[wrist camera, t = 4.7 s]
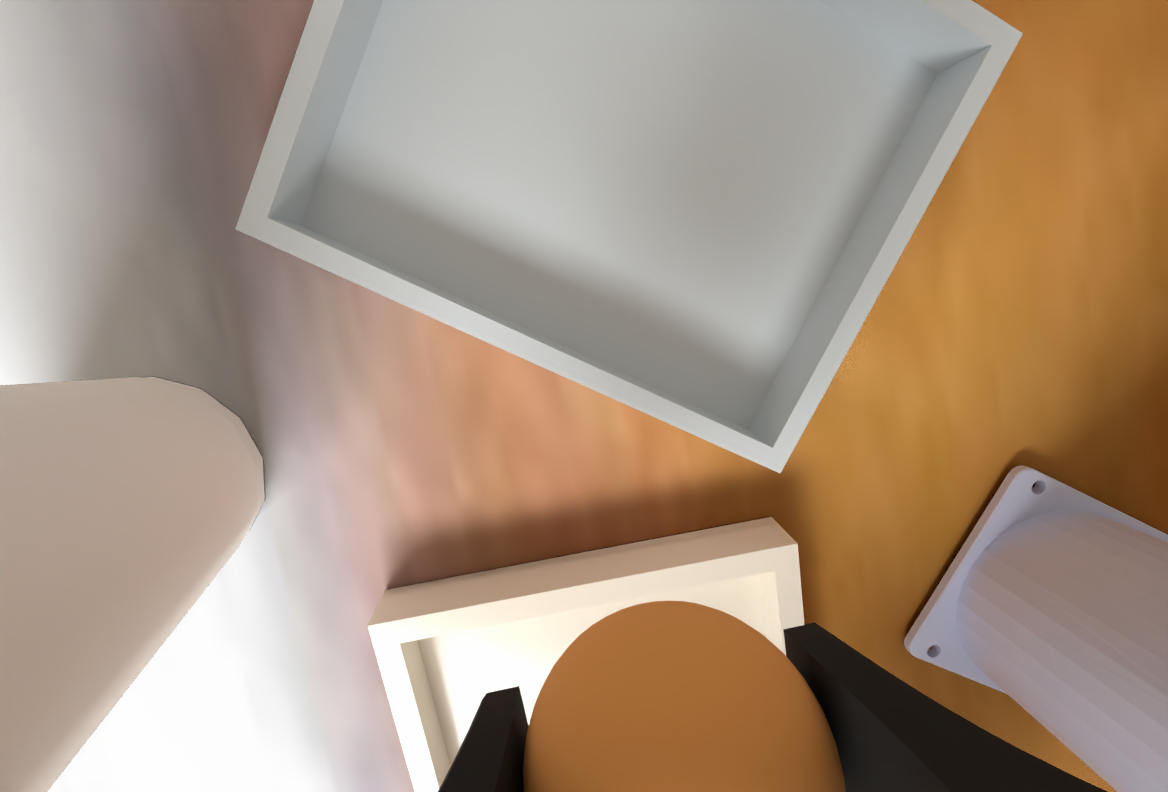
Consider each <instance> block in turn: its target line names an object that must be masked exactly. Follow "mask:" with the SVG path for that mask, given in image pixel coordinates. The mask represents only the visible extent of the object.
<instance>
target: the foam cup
mask: <svg viewBox="0 0 1168 792" xmlns="http://www.w3.org/2000/svg"><path fill="white" fill-rule="evenodd" d="M264 500H265V493H264V473H263V458H262V456H261V454H260V452H259V451H258V449H257V447H256V445H255V443H254V442H253V440H252V438H251V436H250V435H249V433H248V431H247V429H246V428H245V426H244V424H243V422H242V421H241V419H240V418H239V417H238V416H236V415H235V414H234V413H232V412H231V411H230V410H228V409H227V408H226V407H224V406H223V405H222V404H220V403H219V402H218V401H216V400H215V399H214V398H212V397H211V396H210V395H208V394H207V393H206V392H204V391H203V390H202V389H199V388H196V387H192V386H188V385H184V384H180V383H176V382H172V381H169V380H165V379H161V378H157V377H153V376H152V377H146V378H139V377H127V378H111V379H96V380H80V381H64V382H48V383H33V384H17V385H1V386H0V792H47V791H48V790H49V789H50V787H51V786H52V785H53V783H54V782H55V781H56V780H57V778H58V777H59V776H60V775H61V773H62V772H63V771H64V769H65V768H66V767H67V766H68V764H69V763H70V762H71V760H72V759H73V758H74V757H75V755H76V754H77V753H78V752H79V750H80V749H81V748H82V746H83V745H84V744H85V743H86V741H87V740H88V739H89V737H90V736H91V735H92V734H93V732H94V731H95V730H96V729H97V727H98V726H99V725H100V723H101V722H102V721H103V720H104V718H105V717H106V716H107V715H108V713H109V712H110V711H111V709H112V708H113V707H114V706H115V704H116V703H117V702H118V700H119V699H120V698H121V697H122V695H123V694H124V693H125V692H126V690H127V689H128V688H129V686H130V685H131V684H132V683H133V681H134V680H135V679H136V677H137V676H138V675H139V674H140V672H141V671H142V670H143V669H144V667H145V666H146V665H147V663H148V662H149V661H150V660H151V658H152V657H153V656H154V654H155V653H156V652H157V651H158V649H159V648H160V647H161V646H162V644H163V643H164V642H165V640H166V639H167V638H168V637H169V635H170V634H171V633H172V631H173V630H174V629H175V628H176V626H177V625H178V624H179V623H180V621H181V620H182V619H183V617H184V616H185V615H186V614H187V612H188V611H189V610H190V609H191V607H192V606H193V605H194V603H195V602H196V601H197V600H198V598H199V597H200V596H201V594H202V593H203V592H204V591H205V589H206V588H207V587H208V586H209V584H210V583H211V582H212V580H213V579H214V578H215V577H216V575H217V574H218V573H219V571H220V570H221V569H222V568H223V566H224V565H225V564H226V563H227V561H228V560H229V559H230V557H231V556H232V555H233V554H234V552H235V551H236V550H237V548H238V547H239V546H240V544H241V542H242V540H243V538H245V537H246V536H247V535H248V533H249V531H250V529H251V527H252V525H253V523H254V520H255V518H256V516H257V514H258V512H259V510H260V508H261V506H262V504H263V502H264Z"/></svg>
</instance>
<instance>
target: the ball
mask: <svg viewBox="0 0 1168 792" xmlns="http://www.w3.org/2000/svg"><path fill="white" fill-rule="evenodd" d="M523 790H524V792H845V780H844V775H843V771H842V766H841V762H840V757H839V753H838V749H837V745H836V742H835V739H834V737H833V734H832V731H831V729H830V726H829V724H828V721H827V719H826V716H825V714H824V712H823V709H822V708H821V706H820V704H819V702H818V700H817V699H816V697H815V695H814V693H813V692H812V690H811V688H810V687H809V685H808V684H807V682H806V680H805V679H804V678H803V676H802V675H801V674H800V672H799V671H798V670H797V669H796V667H795V666H794V665H793V664H792V663H791V661H790V660H789V659H788V658H787V657H786V656H785V654H784V653H783V652H782V651H781V650H779V649H778V648H777V647H776V646H775V645H774V644H773V643H772V642H771V641H769V640H768V639H767V638H766V637H765V636H764V635H762V634H761V633H760V632H758V631H757V630H755V629H754V628H752V627H751V626H749V625H747V624H746V623H744V622H743V621H741V620H739V619H738V618H736V617H734V616H732V615H730V614H727V613H725V612H723V611H720V610H717V609H714V608H711V607H708V606H704V605H701V604H697V603H691V602H685V601H655V602H647V603H642V604H637V605H633V606H630V607H627V608H624V609H621V610H619V611H617V612H615V613H613V614H610V615H608V616H606V617H605V618H603V619H601V620H600V621H598V622H596V623H595V624H593V625H592V626H590V627H589V628H588V629H587V630H585V631H584V632H583V633H581V634H580V635H579V636H578V637H577V638H576V639H575V640H574V641H573V642H572V643H571V644H570V645H569V647H568V648H567V649H566V650H565V651H564V653H563V654H562V655H561V657H560V658H559V659H558V660H557V662H556V663H555V664H554V666H553V668H552V669H551V671H550V673H549V675H548V676H547V678H546V680H545V682H544V684H543V686H542V688H541V690H540V692H539V695H538V697H537V700H536V702H535V705H534V708H533V712H532V715H531V719H530V723H529V727H528V731H527V735H526V742H525V751H524V762H523Z"/></svg>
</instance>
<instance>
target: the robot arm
mask: <svg viewBox="0 0 1168 792" xmlns="http://www.w3.org/2000/svg"><path fill="white" fill-rule="evenodd" d="M1035 482H1036V484H1035V486H1034V487H1033V488H1032V486H1033V484H1034V483H1035ZM783 631H784V640H785V649H786V657H787V658H788V659H789V660H790V661H791V663H792V664H793V665H794V666H795V667H796V669H797V670H798V671H799V672H800V674H801V675H802V676H803V678H804V679H805V680H806V682H807V684H808V685H809V687H810V688H811V690H812V692H813V693H814V695H815V697H816V699H817V700H818V702H819V704H820V706H821V708H822V709H823V712H824V714H825V716H826V719H827V721H828V724H829V726H830V729H831V731H832V734H833V737H834V739H835V742H836V745H837V749H838V753H839V757H840V762H841V766H842V771H843V775H844V780H845V792H1107V791H1105V790H1102V789H1100V788H1098V787H1096V786H1094V785H1092V784H1090V783H1087V782H1085V781H1083V780H1081V779H1079V778H1077V777H1075V776H1072V775H1070V774H1068V773H1066V772H1064V771H1062V770H1060V769H1058V768H1056V767H1054V766H1052V765H1050V764H1048V763H1046V762H1044V761H1042V760H1040V759H1038V758H1036V757H1034V756H1032V755H1030V754H1028V753H1026V752H1024V751H1022V750H1020V749H1019V748H1017V747H1015V746H1013V745H1011V744H1009V743H1007V742H1005V741H1003V740H1002V739H1000V738H998V737H996V736H994V735H992V734H991V733H989V732H987V731H985V730H984V729H982V728H980V727H978V726H977V725H975V724H973V723H971V722H970V721H968V720H966V719H964V718H963V717H961V716H959V715H957V714H955V713H954V712H952V711H950V710H949V709H947V708H945V707H944V706H942V705H940V704H939V703H937V702H935V701H934V700H932V699H930V698H929V697H927V696H925V695H924V694H922V693H921V692H919V691H917V690H916V689H914V688H913V687H911V686H909V685H908V684H906V683H905V682H903V681H901V680H900V679H898V678H897V677H895V676H894V675H892V674H891V673H889V672H888V671H886V670H884V669H883V668H881V667H880V666H878V665H877V664H875V663H874V662H872V661H871V660H869V659H868V658H866V657H865V656H863V655H862V654H860V653H859V652H857V651H856V650H854V649H853V648H851V647H850V646H849V645H847V644H846V643H844V642H843V641H841V640H840V639H838V638H837V637H835V636H834V635H832V634H831V633H829V632H828V631H826V630H825V629H823V628H822V627H820V626H819V625H817V624H816V623H811V624H806V625H802V626H797V627H792V628H788V629H783ZM904 646H905V648H906V649H907V650H908V651H909V652H910V654H911V655H913V656H914V657H916V658H919V659H921V660H924V661H926V662H929V663H931V664H934V665H936V666H938V667H941V668H943V669H946V670H948V671H951V672H953V673H956V674H958V675H961V676H963V677H966V678H968V679H971V680H973V681H976V682H978V683H981V684H983V685H985V686H988V687H990V688H993V689H995V690H998V691H1000V692H1003V693H1005V694H1008V695H1009V696H1010V697H1011V698H1012V699H1013V700H1014V701H1015V702H1017V703H1018V704H1019V705H1020V706H1021V707H1022V708H1023V709H1024V710H1026V711H1027V712H1028V713H1029V714H1030V715H1031V716H1032V717H1033V718H1035V719H1036V720H1037V721H1038V722H1039V723H1040V724H1041V725H1042V726H1044V727H1045V728H1046V729H1047V730H1048V731H1049V732H1050V733H1051V734H1053V735H1054V736H1055V737H1056V738H1057V739H1058V740H1059V741H1060V742H1062V743H1063V744H1064V745H1065V746H1066V747H1067V748H1068V749H1069V750H1071V751H1072V752H1073V753H1074V754H1075V755H1076V756H1077V757H1078V758H1080V759H1081V760H1082V761H1083V762H1084V763H1085V764H1086V765H1087V766H1089V767H1090V768H1091V769H1092V770H1093V771H1094V772H1095V773H1096V774H1097V775H1099V776H1100V777H1101V778H1102V779H1103V780H1104V781H1105V782H1106V783H1108V784H1109V785H1110V786H1111V787H1112V788H1113V789H1114V790H1115V791H1117V792H1168V535H1167V534H1165V533H1163V532H1161V531H1159V530H1157V529H1155V528H1153V527H1151V526H1149V525H1147V524H1145V523H1143V522H1141V521H1139V520H1137V519H1135V518H1133V517H1131V516H1129V515H1127V514H1125V513H1123V512H1120V511H1118V510H1116V509H1114V508H1112V507H1110V506H1108V505H1106V504H1104V503H1102V502H1100V501H1098V500H1096V499H1094V498H1092V497H1090V496H1088V495H1086V494H1084V493H1082V492H1080V491H1078V490H1076V489H1074V488H1072V487H1070V486H1068V485H1066V484H1064V483H1061V482H1059V481H1057V480H1055V479H1053V478H1051V477H1049V476H1047V475H1045V474H1043V473H1041V472H1039V471H1037V470H1035V469H1033V468H1030V467H1027V466H1023V465H1020V466H1016V467H1014V468H1013V469H1011V471H1010V472H1009V473H1008V474H1007V476H1006V477H1005V479H1004V481H1003V482H1002V484H1001V485H1000V487H999V489H998V490H997V492H996V493H995V495H994V497H993V498H992V500H991V501H990V503H989V505H988V506H987V508H986V509H985V511H984V513H983V514H982V516H981V517H980V519H979V521H978V522H977V524H976V525H975V527H974V529H973V530H972V532H971V533H970V535H969V536H968V538H967V540H966V541H965V543H964V544H963V546H962V548H961V549H960V551H959V552H958V554H957V556H956V557H955V559H954V560H953V562H952V564H951V565H950V567H949V568H948V570H947V572H946V573H945V575H944V576H943V578H942V580H941V581H940V583H939V584H938V586H937V588H936V589H935V591H934V592H933V594H932V596H931V597H930V599H929V600H928V602H927V604H926V605H925V607H924V608H923V610H922V611H921V613H920V615H919V616H918V618H917V619H916V621H915V623H914V624H913V626H912V627H911V629H910V631H909V632H908V634H907V635H906V637H905V640H904ZM931 646H932V647H931ZM930 647H931V648H930ZM929 648H930V649H929ZM928 649H929V650H928ZM528 727H529V725H528V721H527V717H526V713H525V709H524V705H523V700H522V696H521V692H520V688H519V686H517V687H512V688H507V689H503V690H498V691H493V692H489V693H486V695H485V696H484V697H483V699H482V701H481V703H480V705H479V707H478V710H477V712H476V714H475V716H474V719H473V721H472V723H471V725H470V728H469V730H468V732H467V734H466V736H465V738H464V740H463V743H462V745H461V747H460V749H459V751H458V753H457V755H456V757H455V759H454V761H453V763H452V765H451V767H450V769H449V771H448V773H447V775H446V777H445V779H444V781H443V783H442V785H441V786H440V788H439V790H438V792H524V790H523V762H524V751H525V742H526V735H527V731H528Z"/></svg>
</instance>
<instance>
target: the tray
mask: <svg viewBox="0 0 1168 792" xmlns="http://www.w3.org/2000/svg"><path fill="white" fill-rule="evenodd" d="M1022 35H1023V33H1021V32H1020V31H1018V30H1017V29H1015V28H1014V27H1012V26H1011V25H1009V24H1008V23H1006V22H1005V21H1003V20H1001V19H1000V18H998V17H997V16H995V15H994V14H992V13H991V12H989V11H988V10H986V9H985V8H983V7H981V6H980V5H978V4H977V3H975V2H974V1H972V0H314V2H313V5H312V8H311V11H310V14H309V17H308V19H307V22H306V25H305V28H304V31H303V34H302V37H301V40H300V43H299V46H298V48H297V51H296V54H295V57H294V60H293V63H292V66H291V69H290V72H289V75H288V77H287V80H286V83H285V86H284V89H283V92H282V95H281V98H280V101H279V104H278V107H277V109H276V112H275V115H274V118H273V121H272V124H271V127H270V130H269V133H268V136H267V138H266V141H265V144H264V147H263V150H262V153H261V156H260V159H259V162H258V165H257V167H256V170H255V173H254V176H253V179H252V182H251V185H250V188H249V191H248V194H247V196H246V199H245V202H244V205H243V208H242V211H241V214H240V217H239V220H238V223H237V226H236V228H235V230H237V231H240V232H242V233H244V234H246V235H249V236H251V237H253V238H255V239H258V240H260V241H262V242H264V243H266V244H269V245H271V246H273V247H275V248H278V249H280V250H282V251H284V252H287V253H289V254H291V255H293V256H295V257H298V258H300V259H302V260H304V261H307V262H309V263H311V264H313V265H316V266H318V267H320V268H322V269H324V270H327V271H329V272H331V273H333V274H336V275H338V276H340V277H342V278H345V279H347V280H349V281H351V282H354V283H356V284H358V285H360V286H362V287H365V288H367V289H369V290H371V291H374V292H376V293H378V294H380V295H383V296H385V297H387V298H389V299H391V300H394V301H396V302H398V303H400V304H403V305H405V306H407V307H409V308H412V309H414V310H416V311H418V312H421V313H423V314H425V315H427V316H429V317H432V318H434V319H436V320H438V321H441V322H443V323H445V324H447V325H450V326H452V327H454V328H456V329H458V330H461V331H463V332H465V333H467V334H470V335H472V336H474V337H476V338H479V339H481V340H483V341H485V342H488V343H490V344H492V345H494V346H496V347H499V348H501V349H503V350H505V351H508V352H510V353H512V354H514V355H517V356H519V357H521V358H523V359H525V360H528V361H530V362H532V363H534V364H537V365H539V366H541V367H543V368H546V369H548V370H550V371H552V372H554V373H557V374H559V375H561V376H563V377H566V378H568V379H570V380H572V381H575V382H577V383H579V384H581V385H584V386H586V387H588V388H590V389H592V390H595V391H597V392H599V393H601V394H604V395H606V396H608V397H610V398H613V399H615V400H617V401H619V402H621V403H624V404H626V405H628V406H630V407H633V408H635V409H637V410H639V411H642V412H644V413H646V414H648V415H651V416H653V417H655V418H657V419H659V420H662V421H664V422H666V423H668V424H671V425H673V426H675V427H677V428H680V429H682V430H684V431H686V432H688V433H691V434H693V435H695V436H697V437H700V438H702V439H704V440H706V441H709V442H711V443H713V444H715V445H717V446H720V447H722V448H724V449H726V450H729V451H731V452H733V453H735V454H738V455H740V456H742V457H744V458H747V459H749V460H751V461H753V462H755V463H758V464H760V465H762V466H764V467H767V468H769V469H771V470H773V471H776V472H778V473H781V471H782V470H783V468H784V466H785V464H786V462H787V461H788V459H789V457H790V455H791V453H792V451H793V450H794V448H795V446H796V444H797V442H798V441H799V439H800V437H801V435H802V433H803V432H804V430H805V428H806V426H807V424H808V422H809V421H810V419H811V417H812V415H813V413H814V412H815V410H816V408H817V406H818V404H819V403H820V401H821V399H822V397H823V395H824V393H825V392H826V390H827V388H828V386H829V384H830V383H831V381H832V379H833V377H834V375H835V374H836V372H837V370H838V368H839V366H840V364H841V363H842V361H843V359H844V357H845V355H846V354H847V352H848V350H849V348H850V346H851V345H852V343H853V341H854V339H855V337H856V335H857V334H858V332H859V330H860V328H861V326H862V325H863V323H864V321H865V319H866V317H867V316H868V314H869V312H870V310H871V308H872V306H873V305H874V303H875V301H876V299H877V297H878V296H879V294H880V292H881V290H882V288H883V287H884V285H885V283H886V281H887V279H888V277H889V276H890V274H891V272H892V270H893V268H894V267H895V265H896V263H897V261H898V259H899V258H900V256H901V254H902V252H903V250H904V248H905V247H906V245H907V243H908V241H909V239H910V238H911V236H912V234H913V232H914V230H915V229H916V227H917V225H918V223H919V221H920V219H921V218H922V216H923V214H924V212H925V210H926V209H927V207H928V205H929V203H930V201H931V200H932V198H933V196H934V194H935V192H936V190H937V189H938V187H939V185H940V183H941V181H942V180H943V178H944V176H945V174H946V172H947V171H948V169H949V167H950V165H951V163H952V161H953V160H954V158H955V156H956V154H957V152H958V151H959V149H960V147H961V145H962V143H963V142H964V140H965V138H966V136H967V134H968V132H969V131H970V129H971V127H972V125H973V123H974V122H975V120H976V118H977V116H978V114H979V113H980V111H981V109H982V107H983V105H984V103H985V102H986V100H987V98H988V96H989V94H990V93H991V91H992V89H993V87H994V85H995V84H996V82H997V80H998V78H999V76H1000V74H1001V73H1002V71H1003V69H1004V67H1005V65H1006V64H1007V62H1008V60H1009V58H1010V56H1011V55H1012V53H1013V51H1014V49H1015V47H1016V46H1017V44H1018V42H1019V40H1020V38H1021V36H1022Z"/></svg>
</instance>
